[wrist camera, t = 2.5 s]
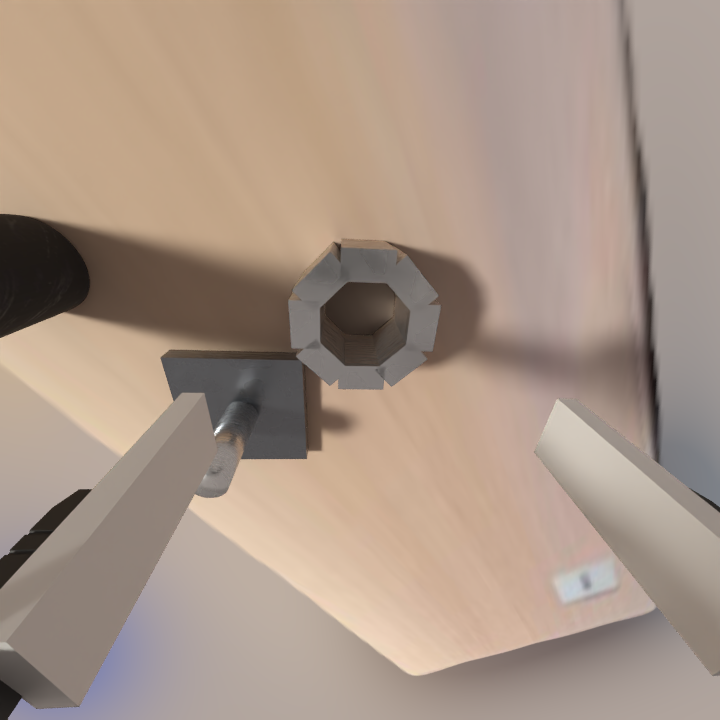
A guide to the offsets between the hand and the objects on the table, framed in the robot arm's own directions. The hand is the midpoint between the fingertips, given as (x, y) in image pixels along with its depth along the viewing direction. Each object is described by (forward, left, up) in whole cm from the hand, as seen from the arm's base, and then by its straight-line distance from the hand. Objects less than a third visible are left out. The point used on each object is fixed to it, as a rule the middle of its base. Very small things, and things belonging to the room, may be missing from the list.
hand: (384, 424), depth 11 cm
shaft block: (+11, -11, -16) cm, 22 cm away
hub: (0, 0, -16) cm, 16 cm away
